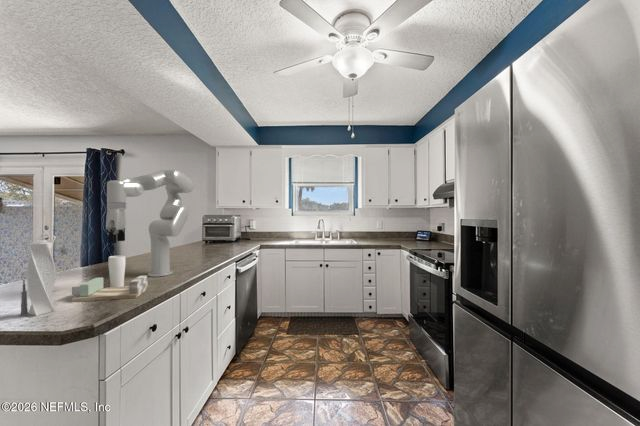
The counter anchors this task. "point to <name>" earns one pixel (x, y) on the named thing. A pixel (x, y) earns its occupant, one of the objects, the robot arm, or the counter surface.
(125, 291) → the vise
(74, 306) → the counter surface
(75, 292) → the sliding jaw
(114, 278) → the drinking glass
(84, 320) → the counter surface
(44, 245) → the skyscraper
